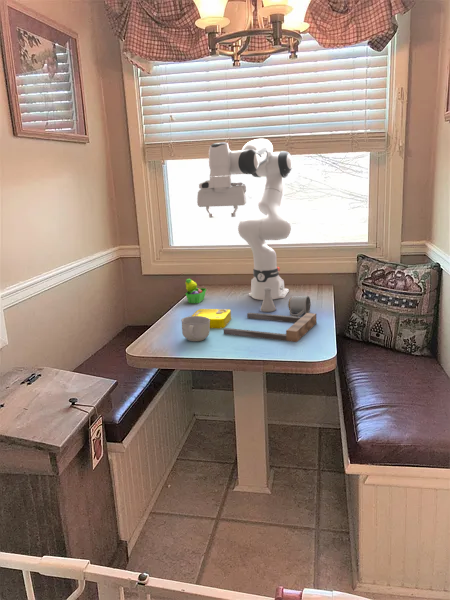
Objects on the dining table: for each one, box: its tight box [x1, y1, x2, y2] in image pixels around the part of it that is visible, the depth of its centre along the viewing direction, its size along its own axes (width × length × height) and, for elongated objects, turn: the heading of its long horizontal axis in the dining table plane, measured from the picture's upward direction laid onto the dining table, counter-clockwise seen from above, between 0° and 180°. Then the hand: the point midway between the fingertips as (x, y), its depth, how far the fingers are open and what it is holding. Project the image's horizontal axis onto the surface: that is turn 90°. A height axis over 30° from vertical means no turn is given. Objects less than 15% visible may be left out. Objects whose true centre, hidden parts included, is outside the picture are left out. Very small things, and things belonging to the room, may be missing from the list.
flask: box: [259, 288, 277, 313], centre depth 228 cm, size 7×7×10 cm
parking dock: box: [223, 312, 317, 343], centre depth 203 cm, size 24×30×4 cm
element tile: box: [191, 308, 232, 329], centre depth 215 cm, size 15×15×5 cm
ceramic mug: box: [288, 295, 312, 317], centre depth 221 cm, size 11×8×8 cm
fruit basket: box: [185, 278, 207, 304], centre depth 251 cm, size 11×9×11 cm
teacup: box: [181, 315, 211, 342], centre depth 194 cm, size 14×11×8 cm
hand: (222, 217), depth 215 cm, fingers open, 8 cm apart
